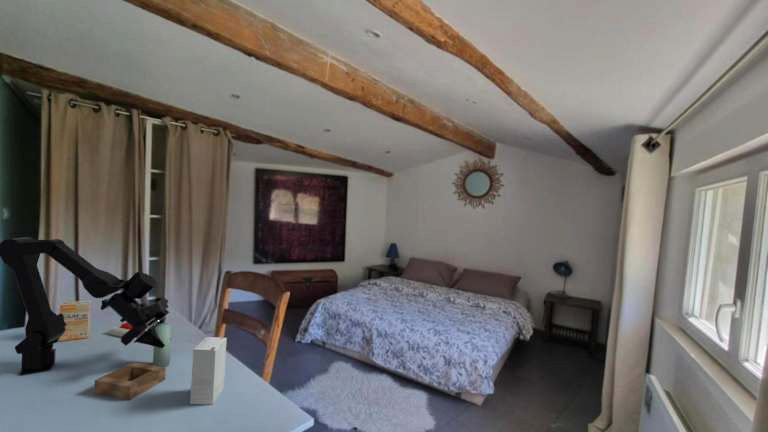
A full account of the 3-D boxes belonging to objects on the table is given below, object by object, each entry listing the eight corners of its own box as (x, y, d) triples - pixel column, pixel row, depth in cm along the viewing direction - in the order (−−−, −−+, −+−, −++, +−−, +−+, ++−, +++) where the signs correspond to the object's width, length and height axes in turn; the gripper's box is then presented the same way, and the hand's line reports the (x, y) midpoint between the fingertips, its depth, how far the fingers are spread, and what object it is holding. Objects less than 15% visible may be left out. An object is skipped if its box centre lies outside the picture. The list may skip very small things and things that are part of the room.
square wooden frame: (94, 393, 92) (94, 380, 92) (132, 373, 103) (133, 362, 103) (129, 400, 90) (129, 386, 90) (164, 379, 101) (165, 367, 101)
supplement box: (57, 342, 122) (58, 305, 121) (60, 337, 126) (61, 301, 125) (88, 338, 126) (89, 302, 126) (90, 334, 130) (91, 299, 130)
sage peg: (153, 369, 106) (154, 328, 106) (152, 363, 110) (154, 324, 109) (170, 365, 109) (171, 326, 108) (168, 360, 112) (170, 322, 112)
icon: (156, 321, 136) (130, 329, 127) (155, 331, 137) (130, 340, 127) (133, 316, 140) (107, 323, 131) (133, 327, 140) (106, 335, 131)
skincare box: (202, 388, 97) (205, 336, 97) (225, 388, 98) (227, 336, 97) (189, 405, 89) (191, 348, 88) (213, 405, 89) (216, 348, 89)
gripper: (134, 298, 99) (175, 337, 101) (163, 284, 117) (197, 316, 119) (102, 326, 97) (144, 364, 100) (136, 307, 116) (171, 339, 118)
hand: (166, 343), depth 109 cm, fingers closed on sage peg, 4 cm apart
